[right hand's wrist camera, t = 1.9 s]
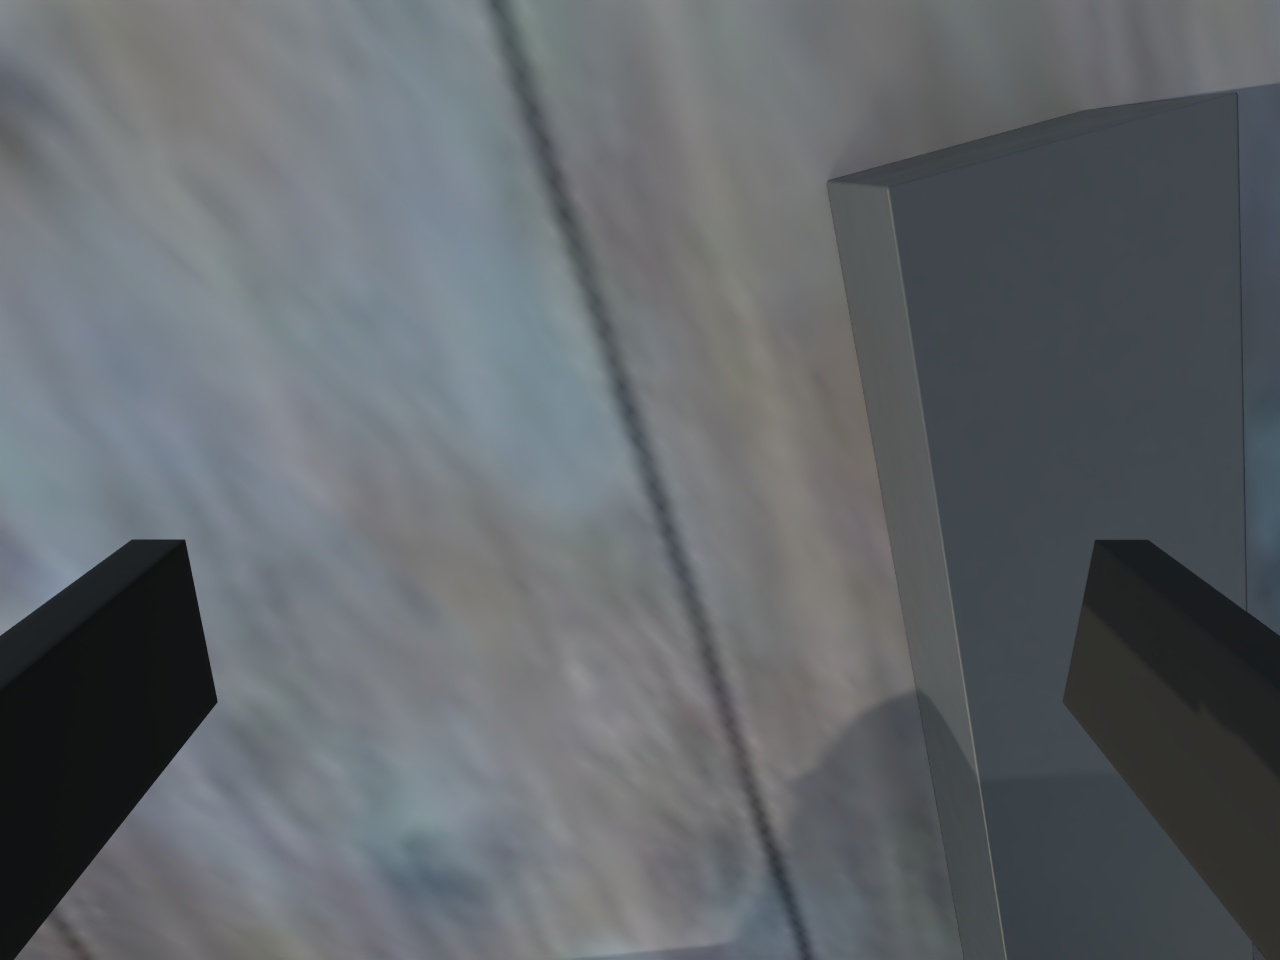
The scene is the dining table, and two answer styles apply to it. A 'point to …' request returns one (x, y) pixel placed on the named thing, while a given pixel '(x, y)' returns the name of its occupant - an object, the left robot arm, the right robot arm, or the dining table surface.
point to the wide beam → (1051, 483)
